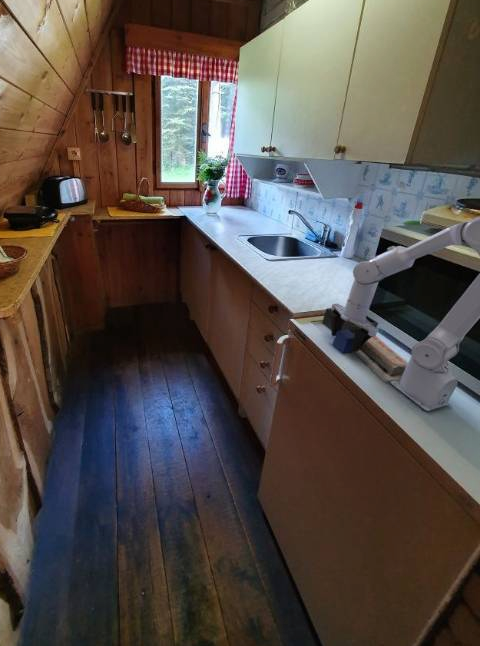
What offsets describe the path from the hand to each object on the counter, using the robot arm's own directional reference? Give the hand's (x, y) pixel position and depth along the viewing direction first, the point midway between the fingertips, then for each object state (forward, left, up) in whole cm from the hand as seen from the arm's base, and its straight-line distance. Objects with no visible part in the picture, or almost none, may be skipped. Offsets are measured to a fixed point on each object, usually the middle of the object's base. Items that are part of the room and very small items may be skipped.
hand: (344, 342), depth 90 cm
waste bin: (+8, -10, -2) cm, 13 cm away
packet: (0, 0, -2) cm, 2 cm away
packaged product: (-7, -6, -3) cm, 10 cm away
